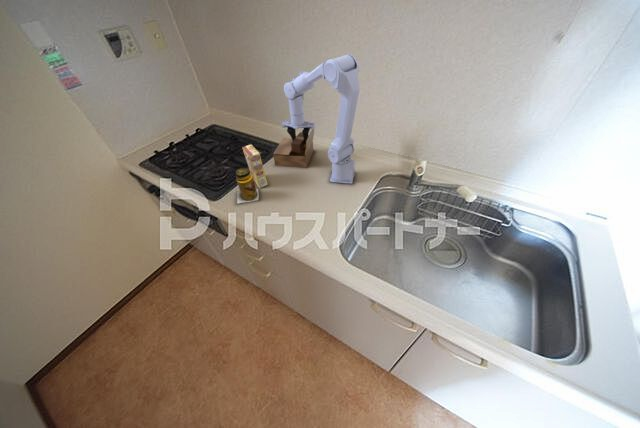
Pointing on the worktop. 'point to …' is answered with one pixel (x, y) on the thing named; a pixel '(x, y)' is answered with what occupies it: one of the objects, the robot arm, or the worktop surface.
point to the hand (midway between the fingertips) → (300, 142)
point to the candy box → (255, 165)
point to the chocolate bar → (298, 143)
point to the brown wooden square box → (291, 155)
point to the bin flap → (309, 141)
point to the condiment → (246, 186)
